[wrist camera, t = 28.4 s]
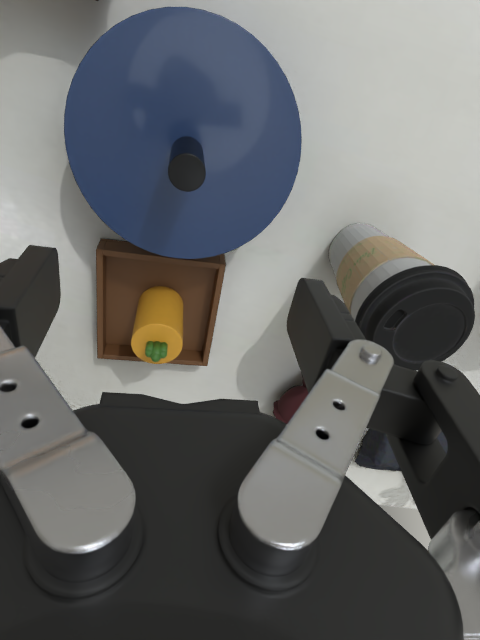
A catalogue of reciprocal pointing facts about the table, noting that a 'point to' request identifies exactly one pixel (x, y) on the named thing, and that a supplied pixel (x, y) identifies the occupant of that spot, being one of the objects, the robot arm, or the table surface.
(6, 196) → the table surface
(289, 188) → the lid
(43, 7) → the table surface
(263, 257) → the table surface
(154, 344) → the pineapple
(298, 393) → the icecream
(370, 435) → the dark slate chunk
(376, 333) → the coffee cup
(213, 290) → the tray
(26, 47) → the table surface
